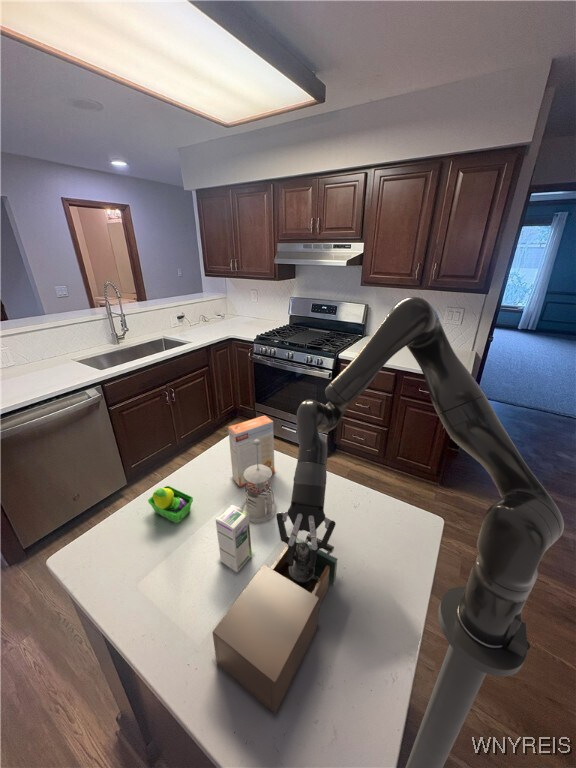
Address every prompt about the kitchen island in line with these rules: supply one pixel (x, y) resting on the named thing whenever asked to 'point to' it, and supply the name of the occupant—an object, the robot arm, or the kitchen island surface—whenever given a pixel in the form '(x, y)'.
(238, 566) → the syrup box
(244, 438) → the cracker box
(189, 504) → the fruit basket
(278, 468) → the kitchen island surface
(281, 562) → the drawer
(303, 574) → the stone chess piece
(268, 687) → the cabinet
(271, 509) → the french press
